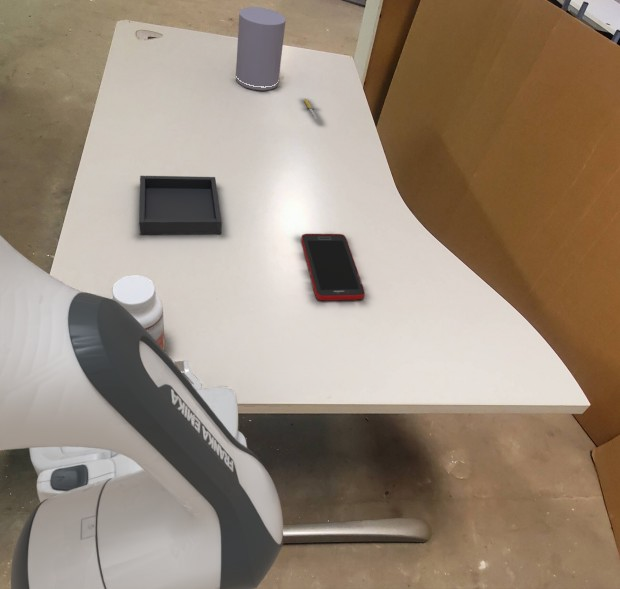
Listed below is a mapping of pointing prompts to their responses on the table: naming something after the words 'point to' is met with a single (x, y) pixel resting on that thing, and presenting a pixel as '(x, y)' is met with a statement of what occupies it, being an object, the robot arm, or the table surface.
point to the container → (259, 47)
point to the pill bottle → (141, 304)
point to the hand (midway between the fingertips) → (137, 368)
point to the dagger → (310, 108)
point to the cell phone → (332, 267)
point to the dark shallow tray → (179, 205)
